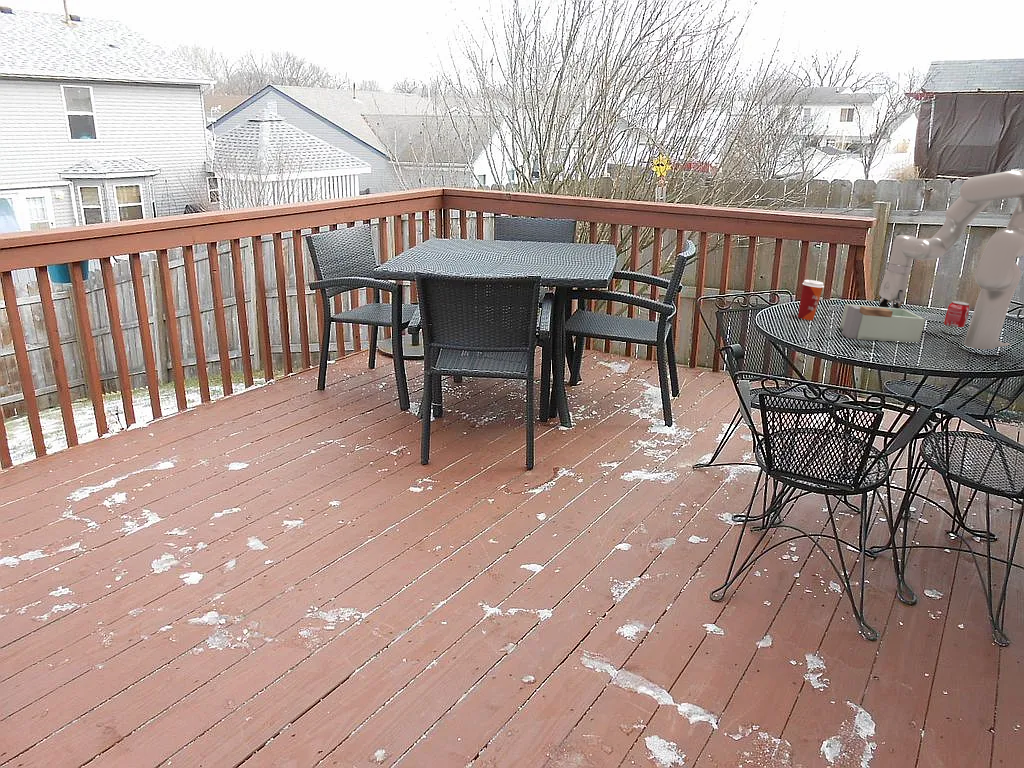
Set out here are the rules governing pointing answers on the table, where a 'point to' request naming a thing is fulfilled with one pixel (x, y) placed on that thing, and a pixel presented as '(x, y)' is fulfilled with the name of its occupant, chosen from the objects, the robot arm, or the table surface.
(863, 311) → the wooden block
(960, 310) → the soda can
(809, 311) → the paper cup
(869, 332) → the toolbox
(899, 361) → the table surface
